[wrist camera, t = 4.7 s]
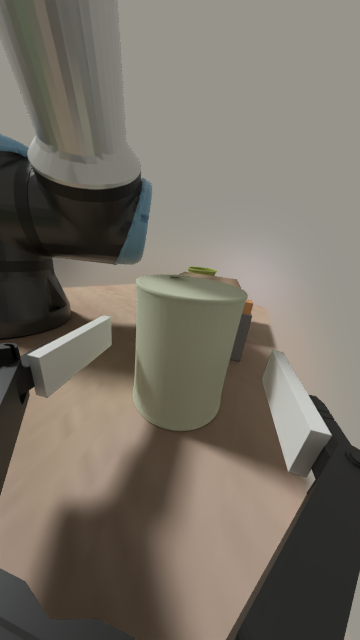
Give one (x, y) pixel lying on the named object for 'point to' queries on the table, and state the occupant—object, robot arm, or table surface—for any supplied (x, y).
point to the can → (183, 348)
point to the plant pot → (202, 271)
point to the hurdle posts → (240, 337)
